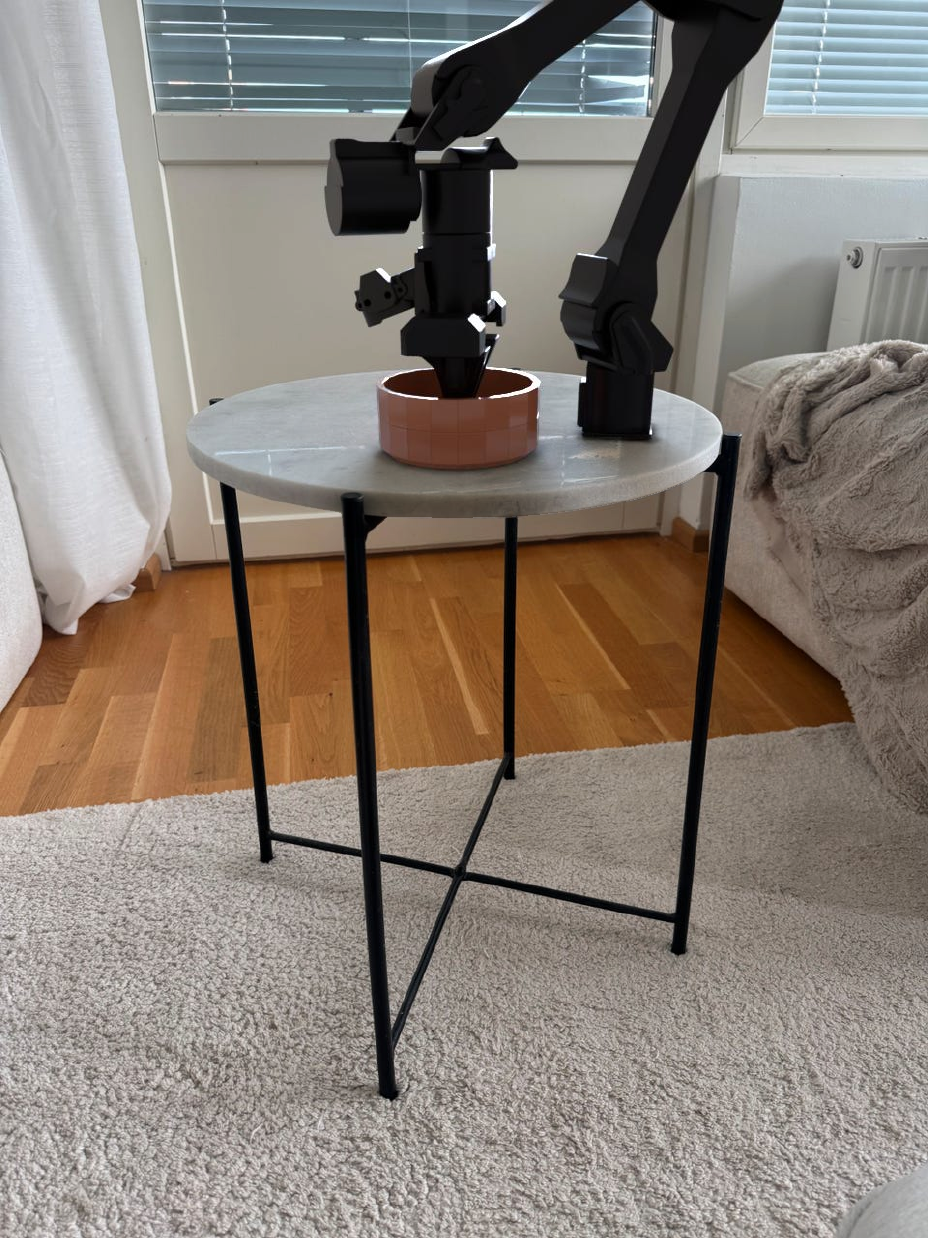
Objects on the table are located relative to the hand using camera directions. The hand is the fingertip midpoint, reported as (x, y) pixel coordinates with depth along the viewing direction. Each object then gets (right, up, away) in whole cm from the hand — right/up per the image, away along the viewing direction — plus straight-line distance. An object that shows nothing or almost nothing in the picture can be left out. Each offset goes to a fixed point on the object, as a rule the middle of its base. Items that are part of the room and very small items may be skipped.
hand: (459, 422), depth 82 cm
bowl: (0, -2, +1) cm, 2 cm away
